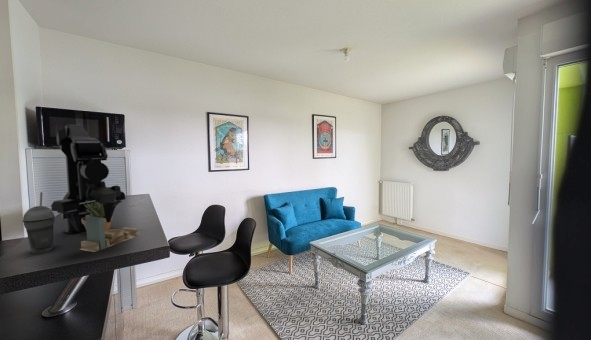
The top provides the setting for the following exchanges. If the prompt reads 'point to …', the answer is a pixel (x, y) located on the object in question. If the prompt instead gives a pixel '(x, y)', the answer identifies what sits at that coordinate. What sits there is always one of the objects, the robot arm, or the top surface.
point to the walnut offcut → (117, 239)
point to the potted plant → (97, 214)
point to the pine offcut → (113, 233)
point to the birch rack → (94, 246)
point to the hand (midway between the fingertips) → (94, 226)
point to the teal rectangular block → (95, 230)
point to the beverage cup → (39, 228)
